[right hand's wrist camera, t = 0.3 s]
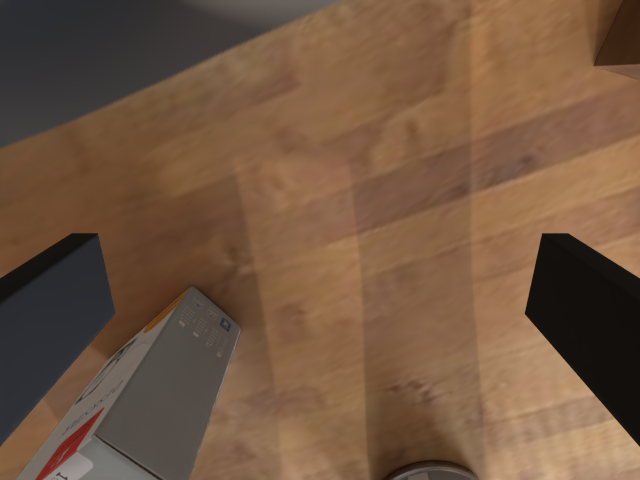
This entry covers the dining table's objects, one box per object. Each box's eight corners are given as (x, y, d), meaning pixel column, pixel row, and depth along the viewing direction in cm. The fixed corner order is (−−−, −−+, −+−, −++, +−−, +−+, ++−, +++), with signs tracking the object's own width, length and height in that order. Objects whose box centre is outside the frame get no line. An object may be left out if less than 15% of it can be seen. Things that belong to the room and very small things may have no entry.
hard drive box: (192, 281, 43) (96, 433, 25) (243, 326, 46) (191, 497, 27) (103, 361, 47) (-37, 544, 29) (154, 399, 49) (55, 592, 31)
